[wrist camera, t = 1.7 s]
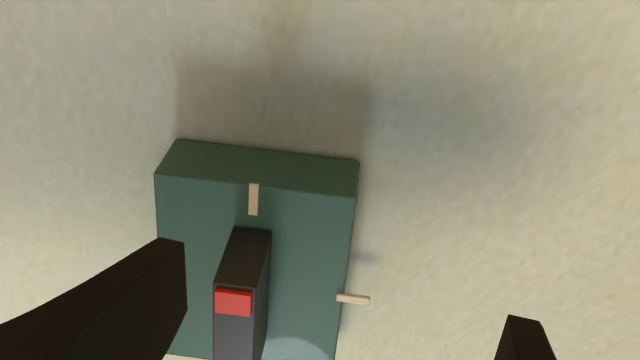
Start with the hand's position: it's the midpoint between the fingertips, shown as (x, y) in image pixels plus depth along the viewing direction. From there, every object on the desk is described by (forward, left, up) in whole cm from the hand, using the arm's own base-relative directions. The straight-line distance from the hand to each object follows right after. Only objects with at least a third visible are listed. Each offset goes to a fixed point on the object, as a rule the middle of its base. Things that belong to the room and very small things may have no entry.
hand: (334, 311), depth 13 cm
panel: (-8, +4, -13) cm, 16 cm away
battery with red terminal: (-8, +4, -10) cm, 13 cm away
